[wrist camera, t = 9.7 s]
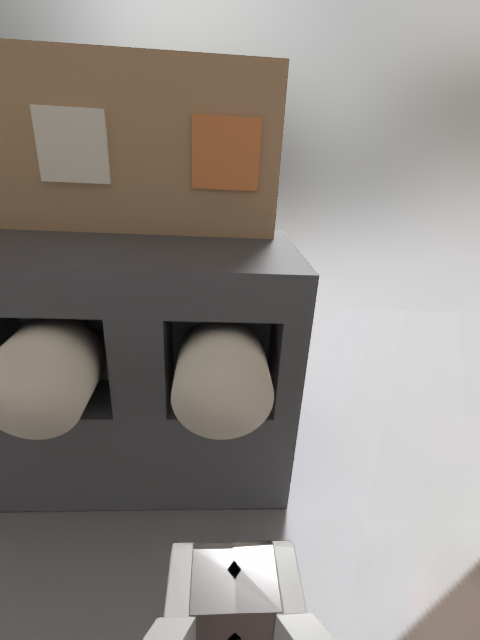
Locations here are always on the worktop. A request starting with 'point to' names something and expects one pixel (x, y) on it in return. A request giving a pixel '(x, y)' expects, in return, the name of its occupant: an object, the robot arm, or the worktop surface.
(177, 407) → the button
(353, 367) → the worktop surface
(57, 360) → the middle button
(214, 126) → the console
